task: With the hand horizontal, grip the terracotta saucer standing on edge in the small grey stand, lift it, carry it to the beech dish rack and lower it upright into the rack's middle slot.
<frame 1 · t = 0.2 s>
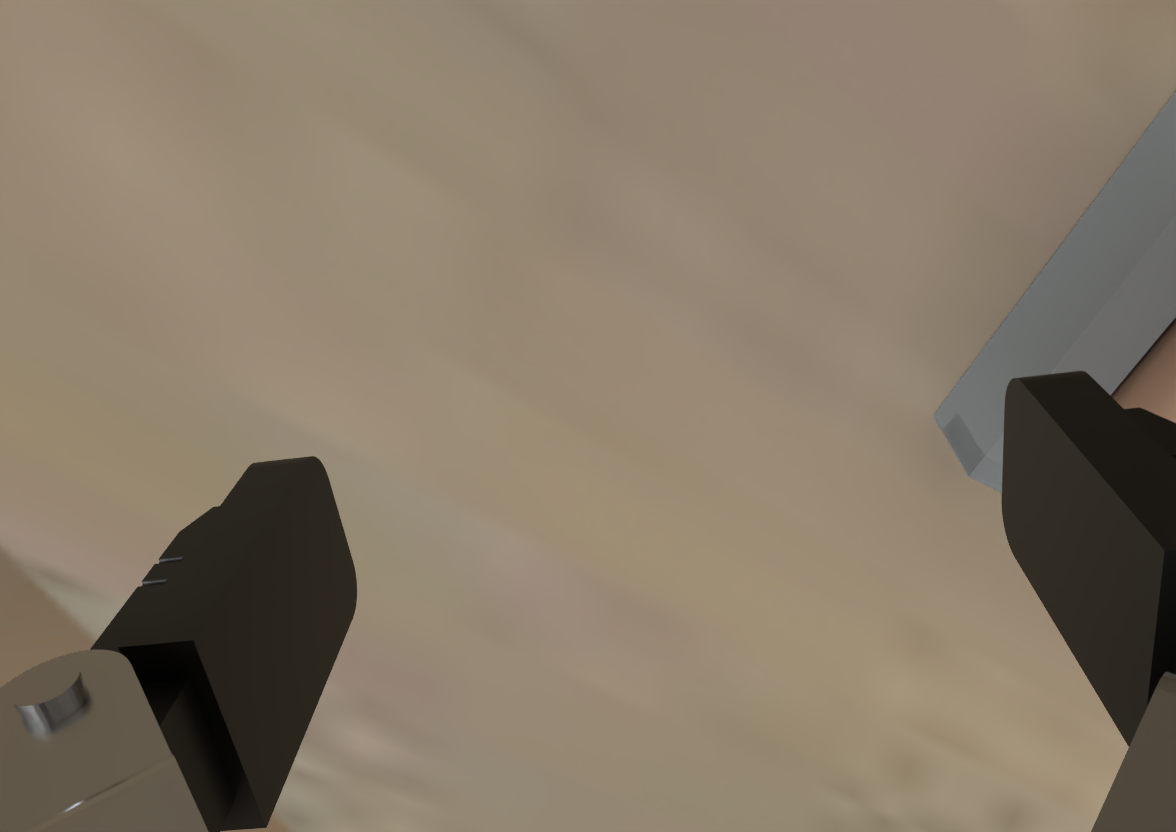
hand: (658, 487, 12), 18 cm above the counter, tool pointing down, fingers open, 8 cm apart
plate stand: (1142, 294, 29), on the counter
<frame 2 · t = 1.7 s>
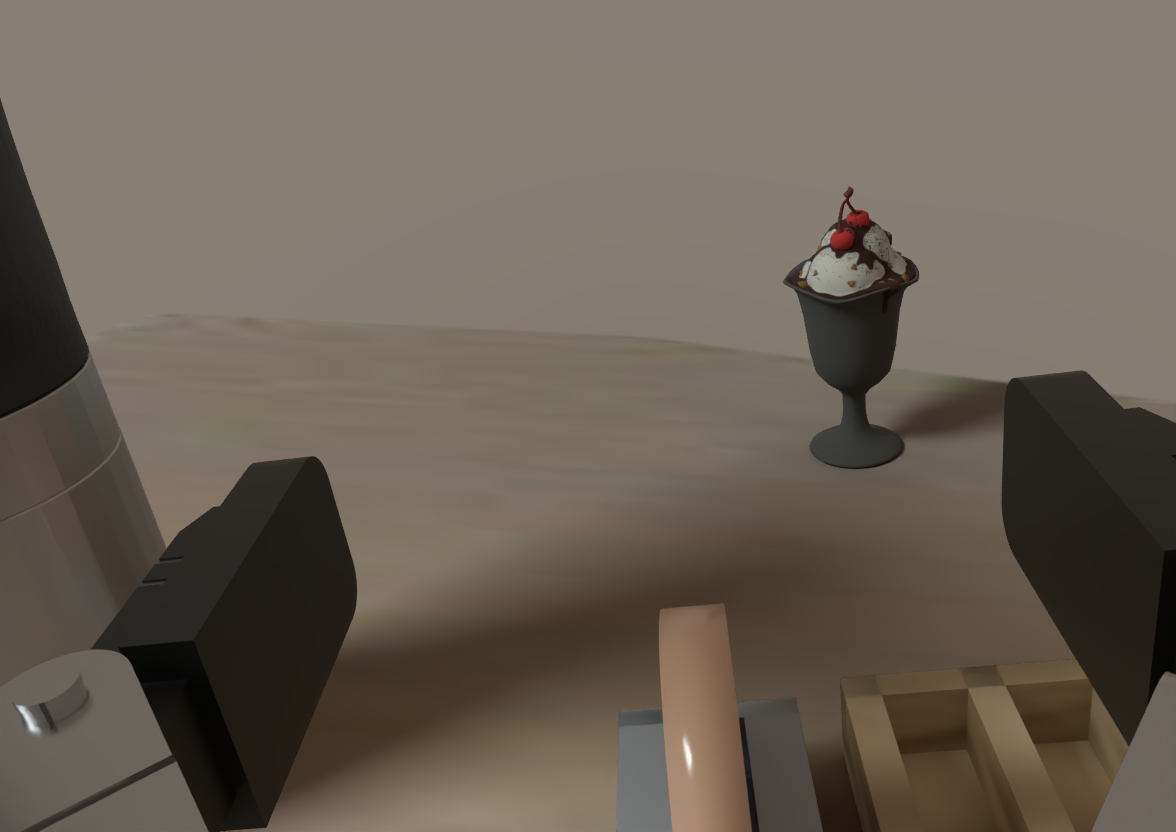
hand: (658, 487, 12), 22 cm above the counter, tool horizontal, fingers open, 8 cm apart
sundae: (856, 450, 56), on the counter
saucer: (711, 788, 28), point 6 cm above the counter, touching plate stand
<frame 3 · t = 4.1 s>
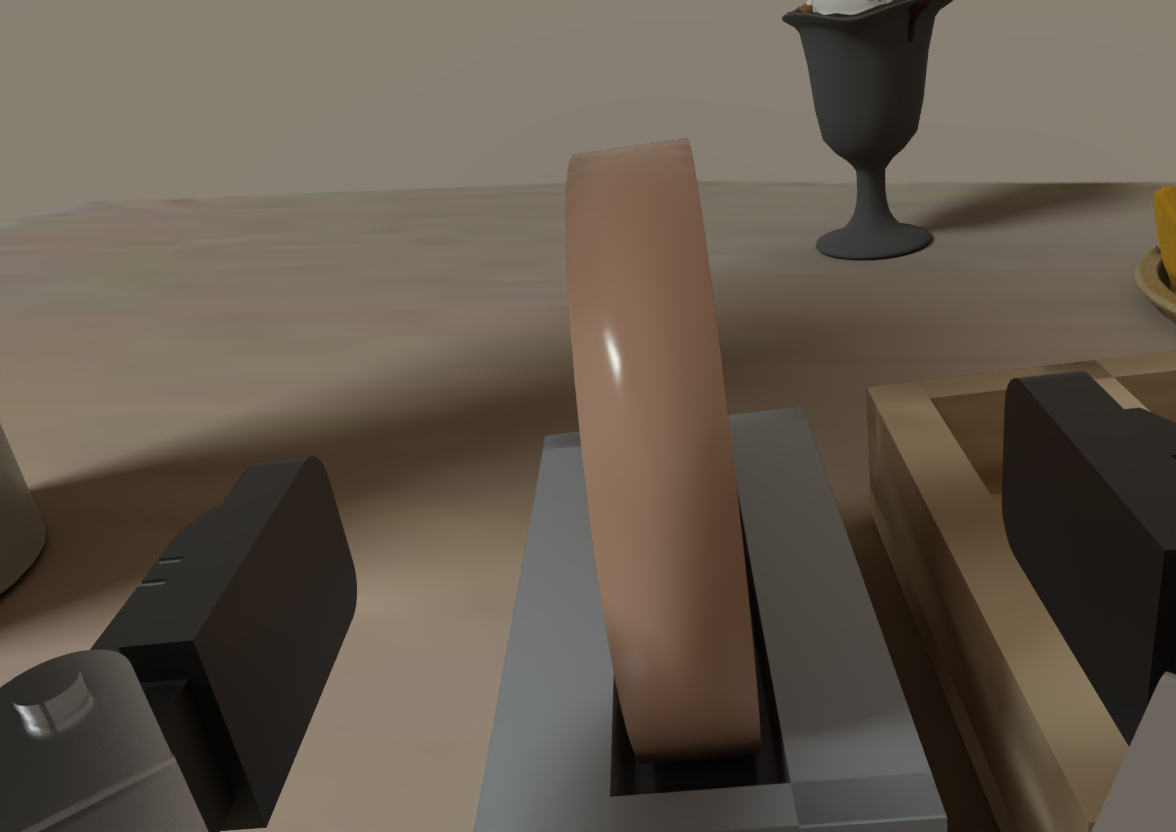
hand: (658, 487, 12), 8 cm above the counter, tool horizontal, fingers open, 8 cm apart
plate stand: (702, 721, 20), on the counter
sundae: (873, 247, 45), on the counter
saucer: (667, 448, 17), point 6 cm above the counter, touching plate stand
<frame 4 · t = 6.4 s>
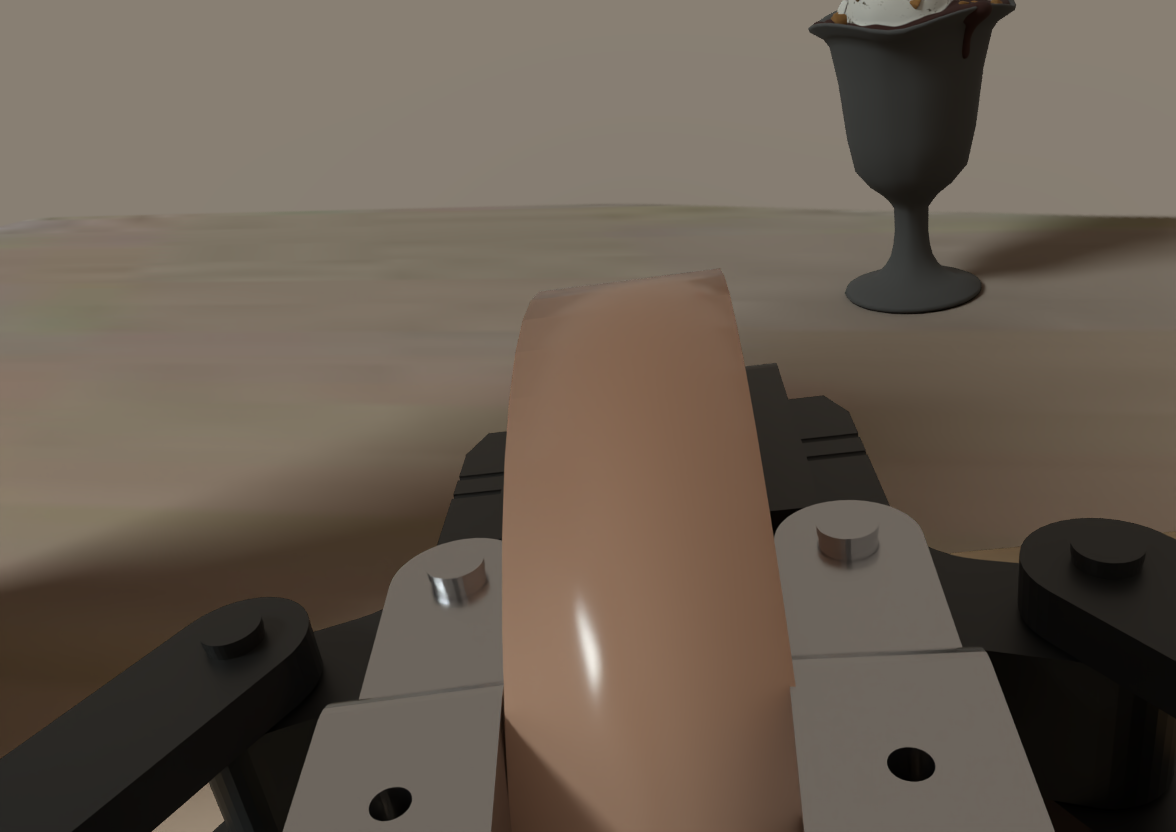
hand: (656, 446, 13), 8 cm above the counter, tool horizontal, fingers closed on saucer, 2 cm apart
sundae: (913, 295, 39), on the counter
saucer: (686, 747, 11), point 6 cm above the counter, touching gripper, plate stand
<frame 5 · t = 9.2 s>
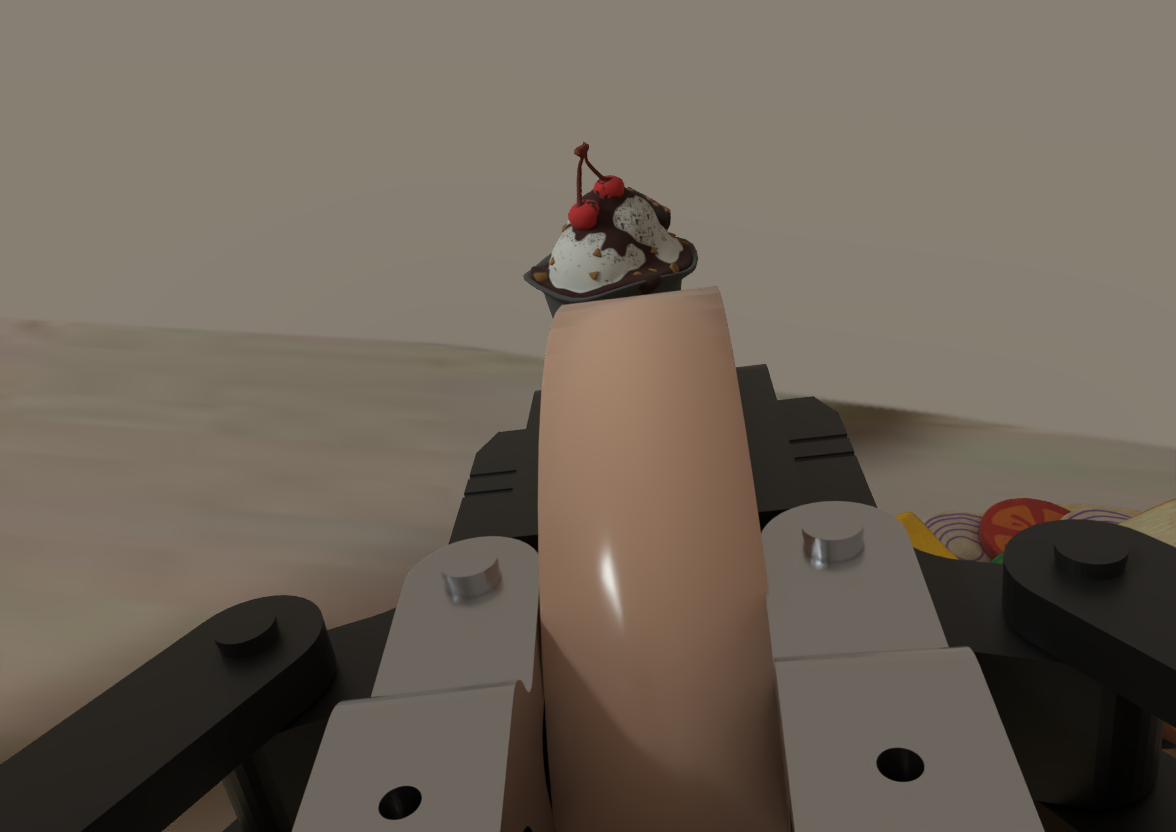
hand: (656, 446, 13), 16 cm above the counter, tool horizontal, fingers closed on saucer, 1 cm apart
toy sandwich meal: (1116, 655, 31), on the counter
sundae: (642, 494, 43), on the counter
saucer: (686, 702, 12), point 13 cm above the counter, touching gripper
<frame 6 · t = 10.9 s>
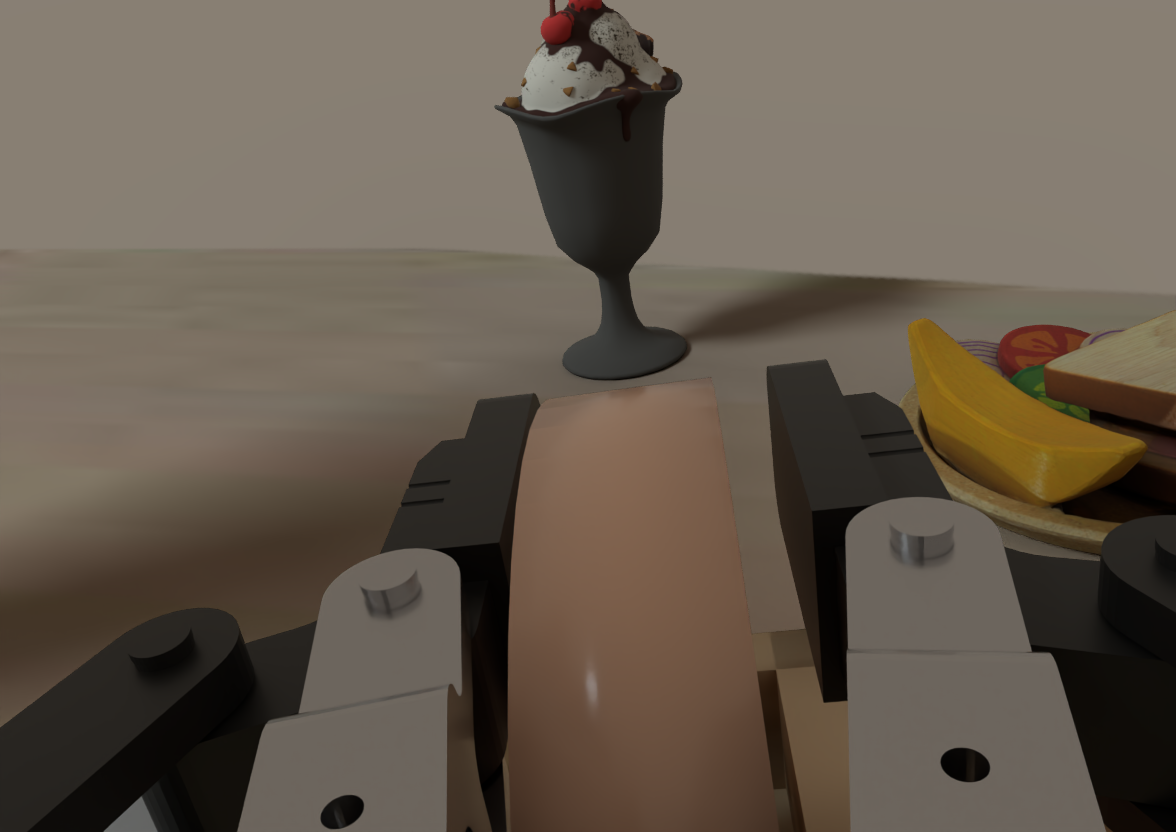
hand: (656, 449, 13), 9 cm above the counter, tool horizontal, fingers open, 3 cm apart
toy sandwich meal: (1154, 466, 28), on the counter
sundae: (625, 359, 40), on the counter
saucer: (688, 829, 11), point 6 cm above the counter, tilted 18°, touching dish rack
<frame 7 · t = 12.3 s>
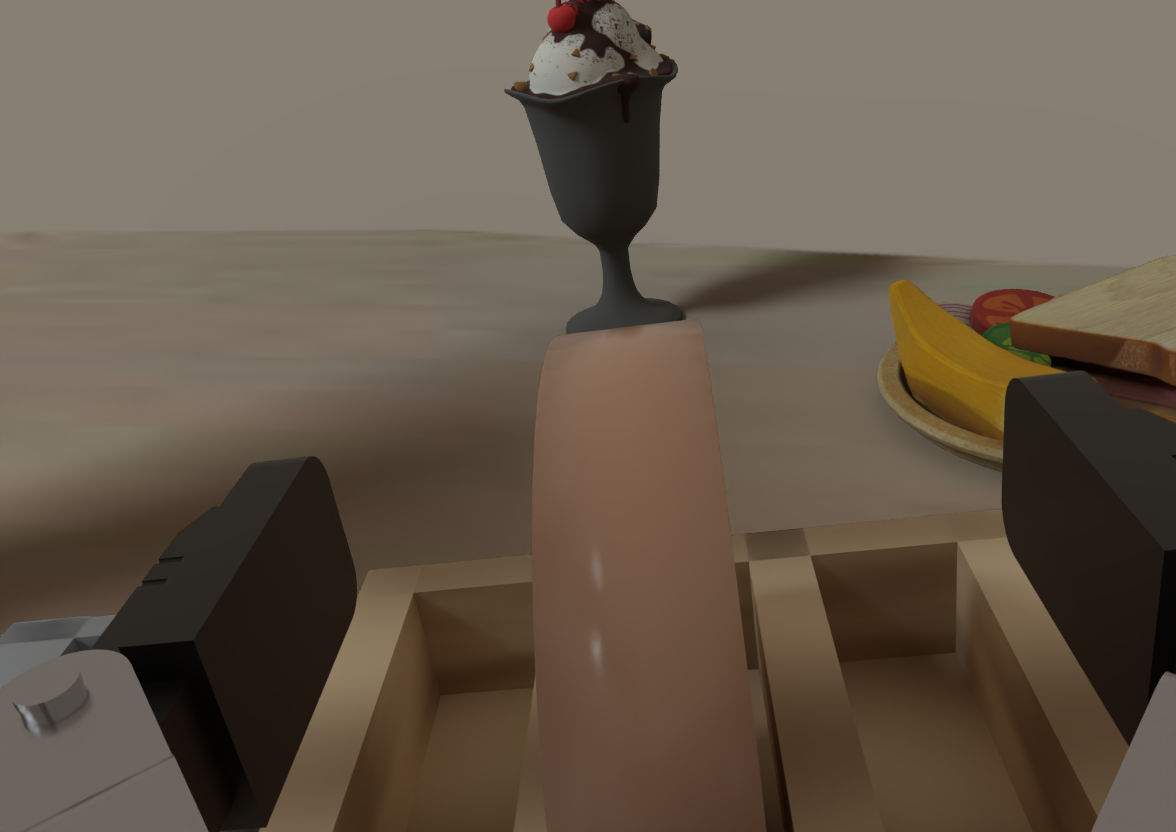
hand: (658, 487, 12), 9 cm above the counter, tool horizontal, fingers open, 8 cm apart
toy sandwich meal: (1109, 411, 31), on the counter
sundae: (625, 327, 43), on the counter
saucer: (672, 707, 13), point 6 cm above the counter, tilted 32°, touching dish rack
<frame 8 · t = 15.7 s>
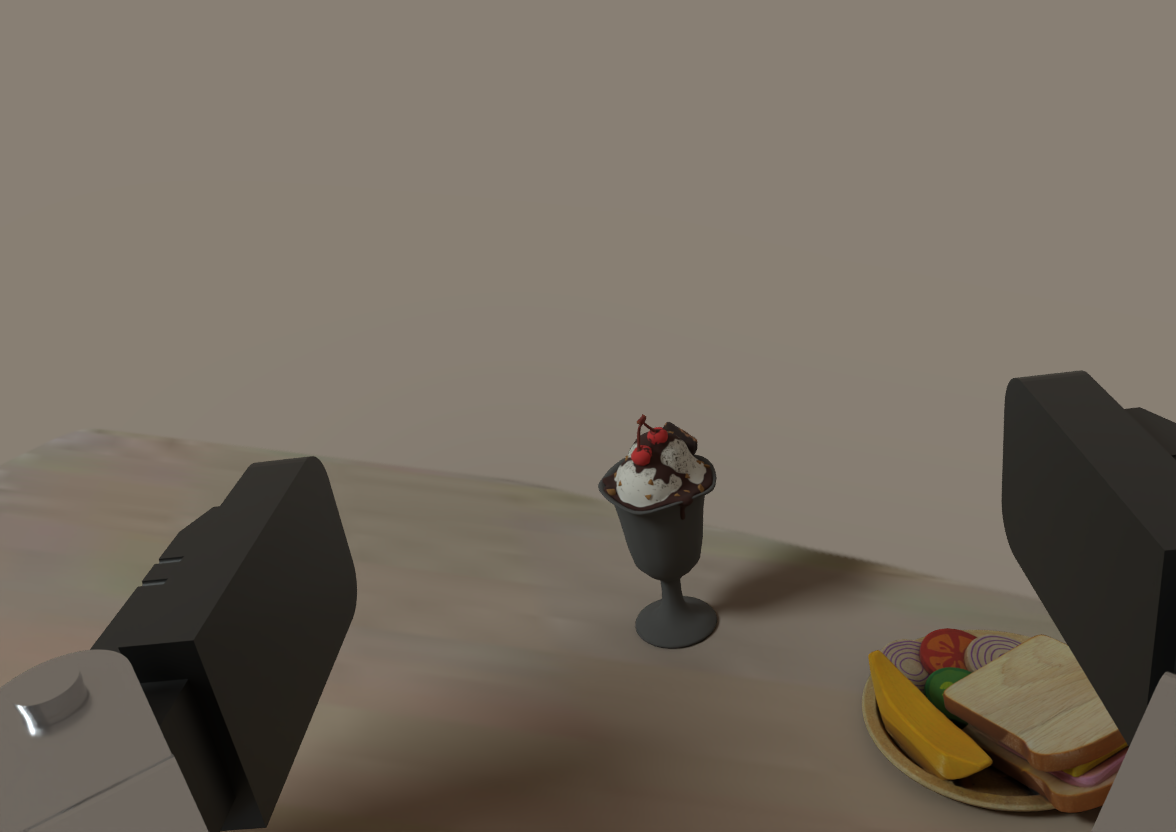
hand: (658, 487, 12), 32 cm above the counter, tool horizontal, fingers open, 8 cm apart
toy sandwich meal: (1006, 734, 50), on the counter
sundae: (676, 625, 61), on the counter
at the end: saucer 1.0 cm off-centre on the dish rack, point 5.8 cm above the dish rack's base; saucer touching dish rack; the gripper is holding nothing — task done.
